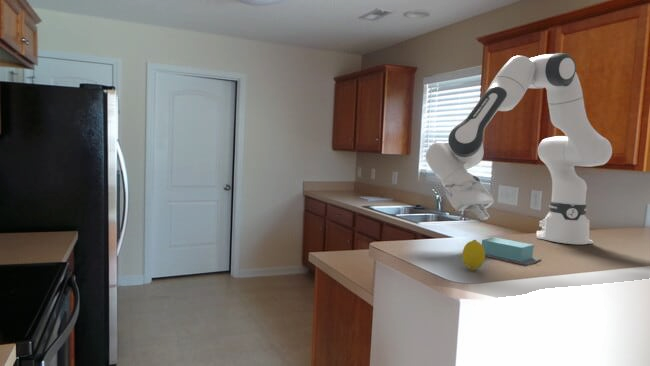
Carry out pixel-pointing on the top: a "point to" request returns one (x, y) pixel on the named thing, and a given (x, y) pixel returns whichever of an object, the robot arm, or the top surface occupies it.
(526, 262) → the mat
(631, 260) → the top surface
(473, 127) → the robot arm
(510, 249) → the teal block
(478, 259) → the lemon
